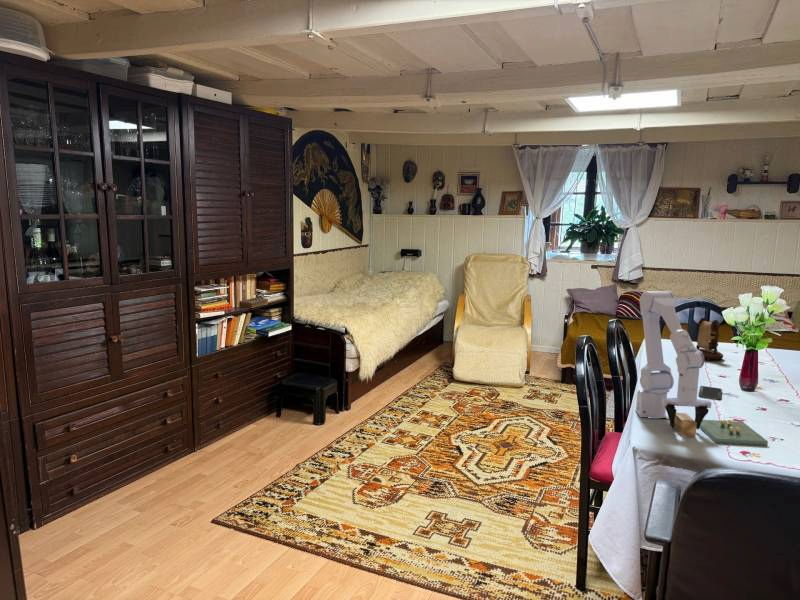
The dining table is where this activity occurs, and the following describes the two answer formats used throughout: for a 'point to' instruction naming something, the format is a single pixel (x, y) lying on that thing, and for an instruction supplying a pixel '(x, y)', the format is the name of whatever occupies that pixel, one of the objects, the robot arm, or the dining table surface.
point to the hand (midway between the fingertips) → (684, 427)
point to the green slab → (732, 433)
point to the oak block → (685, 425)
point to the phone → (710, 393)
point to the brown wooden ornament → (704, 337)
